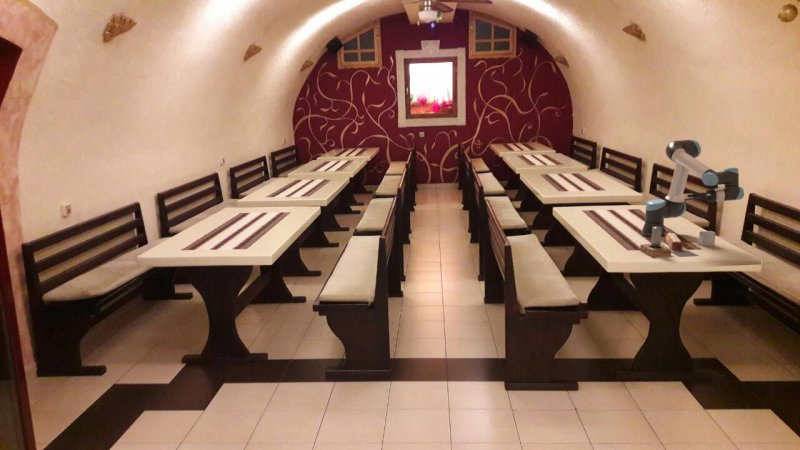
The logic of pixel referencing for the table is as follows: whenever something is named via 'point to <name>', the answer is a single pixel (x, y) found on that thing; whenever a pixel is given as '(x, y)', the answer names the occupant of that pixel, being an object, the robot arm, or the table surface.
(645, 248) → the socket block
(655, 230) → the pin
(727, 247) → the table surface
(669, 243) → the snack package
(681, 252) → the mat
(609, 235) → the table surface
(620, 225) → the table surface
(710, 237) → the medicine box
